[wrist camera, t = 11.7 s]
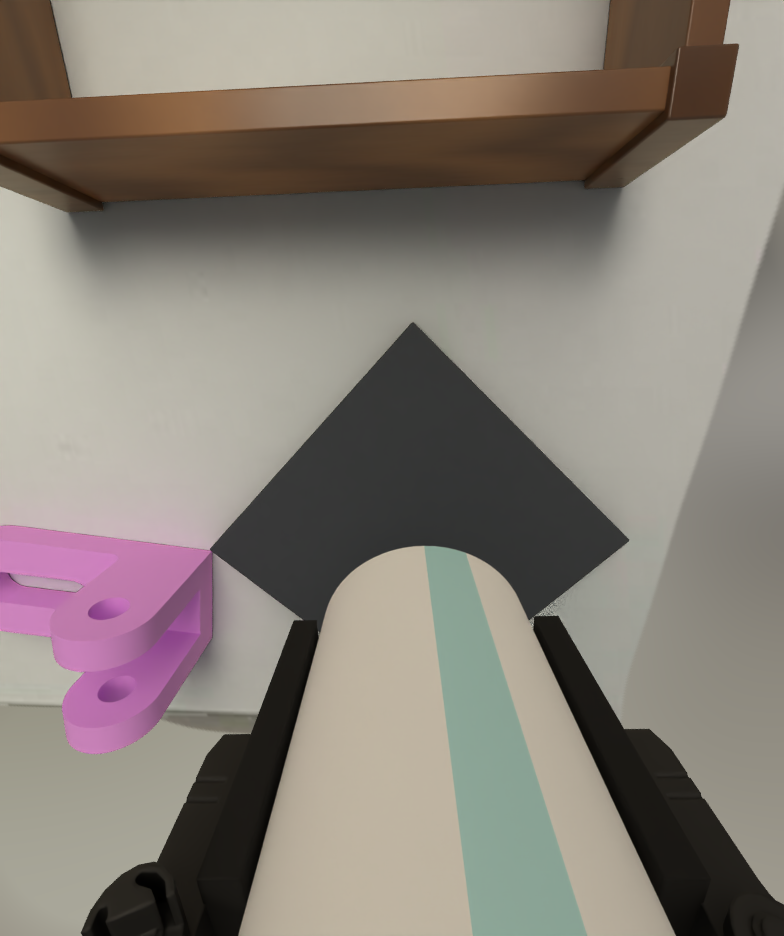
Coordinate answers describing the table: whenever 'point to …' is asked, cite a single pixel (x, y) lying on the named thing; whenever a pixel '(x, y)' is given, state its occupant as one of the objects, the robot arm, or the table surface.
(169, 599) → the bracket
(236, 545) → the mat
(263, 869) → the can
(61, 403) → the table surface
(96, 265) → the table surface
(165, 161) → the crate
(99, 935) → the robot arm
